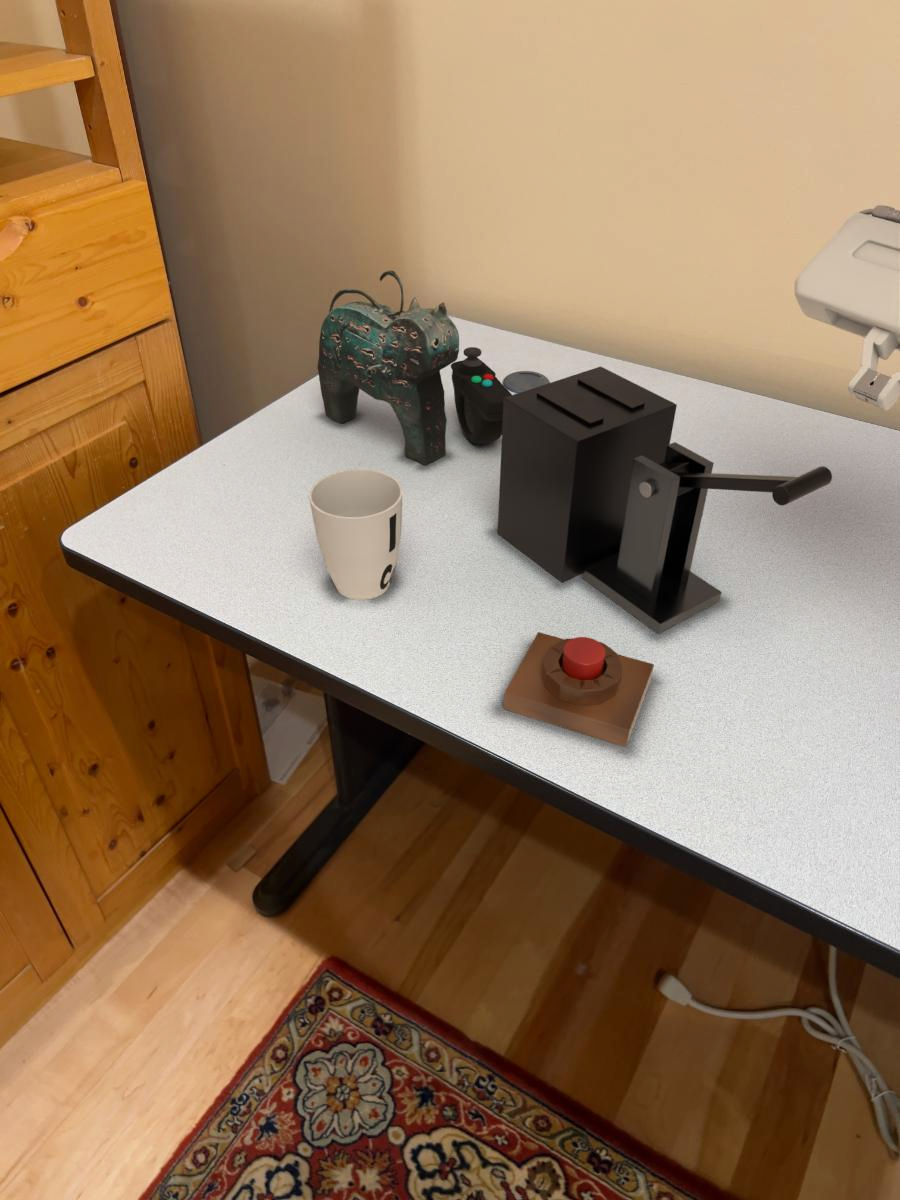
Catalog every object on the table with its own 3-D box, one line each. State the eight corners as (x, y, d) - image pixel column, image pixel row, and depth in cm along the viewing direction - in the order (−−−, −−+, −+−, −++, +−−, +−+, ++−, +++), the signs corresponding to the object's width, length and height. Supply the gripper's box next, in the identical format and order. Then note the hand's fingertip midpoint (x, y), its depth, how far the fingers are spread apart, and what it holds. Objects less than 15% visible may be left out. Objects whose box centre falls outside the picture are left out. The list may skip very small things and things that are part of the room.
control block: (650, 680, 73) (657, 649, 71) (626, 747, 67) (632, 715, 65) (536, 648, 76) (539, 617, 74) (503, 709, 70) (505, 677, 68)
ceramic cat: (462, 457, 102) (465, 283, 89) (423, 478, 98) (420, 300, 85) (348, 403, 112) (336, 240, 100) (308, 420, 108) (291, 253, 96)
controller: (478, 416, 110) (480, 338, 103) (519, 463, 101) (525, 381, 94) (445, 422, 108) (446, 343, 102) (485, 470, 99) (488, 387, 93)
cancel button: (607, 659, 70) (610, 643, 69) (596, 685, 68) (598, 668, 67) (569, 648, 71) (571, 632, 70) (556, 673, 69) (558, 657, 68)
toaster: (652, 541, 89) (677, 401, 79) (562, 583, 83) (577, 438, 74) (585, 497, 95) (601, 363, 85) (497, 533, 90) (503, 394, 80)
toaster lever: (834, 491, 65) (830, 459, 64) (790, 512, 63) (787, 480, 62) (680, 483, 78) (676, 456, 77) (639, 500, 75) (635, 473, 75)
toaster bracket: (719, 602, 81) (752, 471, 72) (658, 634, 78) (685, 501, 69) (641, 550, 87) (663, 424, 79) (581, 578, 84) (597, 449, 75)
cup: (402, 611, 80) (399, 519, 74) (313, 610, 80) (302, 517, 74) (408, 558, 86) (405, 469, 80) (325, 557, 86) (315, 468, 80)
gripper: (853, 173, 66) (738, 329, 67) (1151, 244, 53) (998, 436, 54) (871, 226, 70) (762, 370, 72) (1147, 303, 57) (1007, 477, 59)
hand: (866, 399), depth 63 cm, fingers closed
